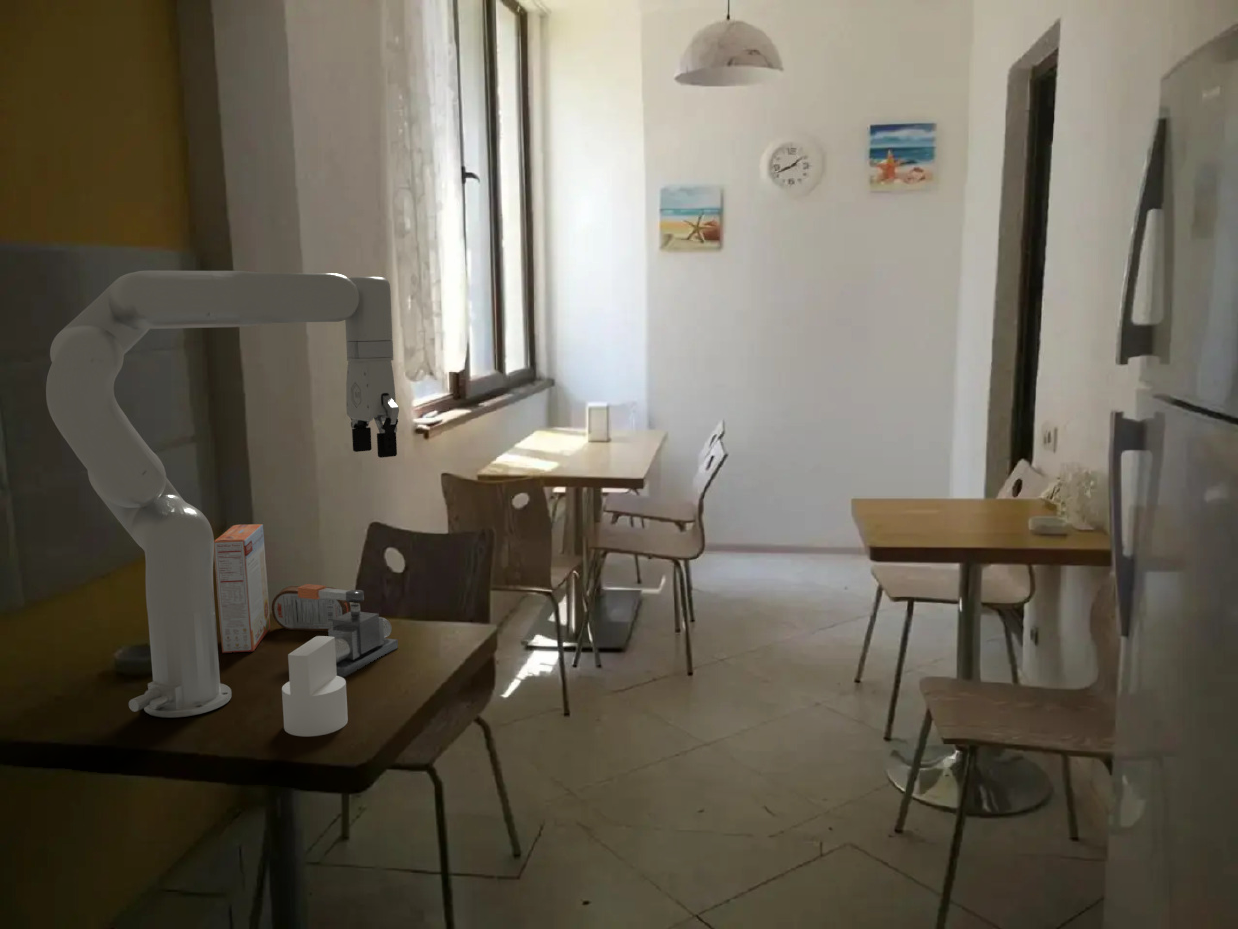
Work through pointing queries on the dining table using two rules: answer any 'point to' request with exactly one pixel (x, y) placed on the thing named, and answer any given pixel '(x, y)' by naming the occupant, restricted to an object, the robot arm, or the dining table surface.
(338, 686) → the base with upright slab
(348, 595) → the lever
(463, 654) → the dining table surface
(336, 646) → the valve body
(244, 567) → the cracker box
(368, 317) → the robot arm
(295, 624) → the tin
